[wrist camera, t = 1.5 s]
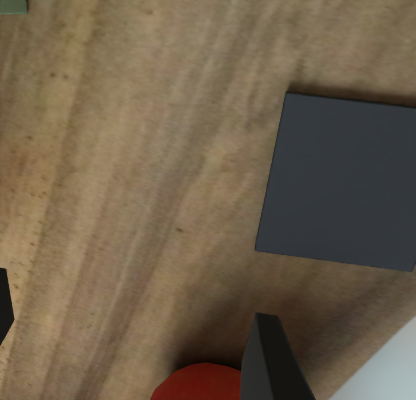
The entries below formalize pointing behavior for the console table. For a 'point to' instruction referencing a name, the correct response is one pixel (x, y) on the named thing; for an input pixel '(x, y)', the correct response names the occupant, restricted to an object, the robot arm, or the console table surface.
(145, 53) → the console table surface
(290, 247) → the mat
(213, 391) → the apple
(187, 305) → the console table surface
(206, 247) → the console table surface
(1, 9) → the base block
